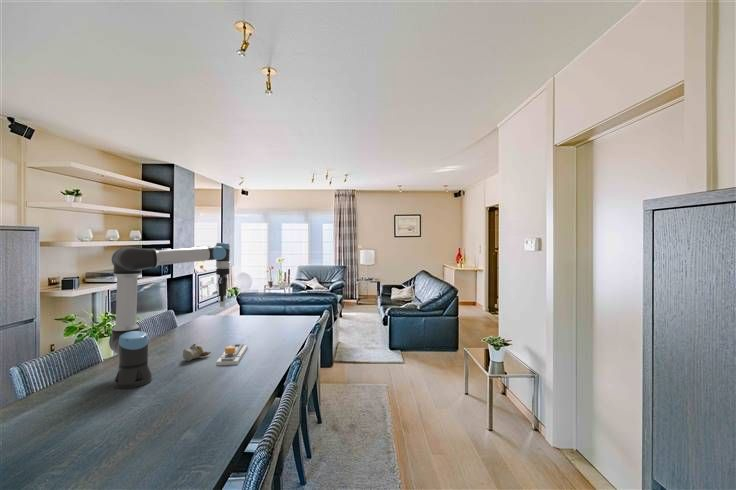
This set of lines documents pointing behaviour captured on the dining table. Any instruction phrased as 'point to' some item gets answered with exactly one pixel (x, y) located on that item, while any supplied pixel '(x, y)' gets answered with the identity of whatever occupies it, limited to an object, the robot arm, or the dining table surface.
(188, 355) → the ceramic sculpture
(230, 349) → the fader
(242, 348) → the console
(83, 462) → the dining table surface
